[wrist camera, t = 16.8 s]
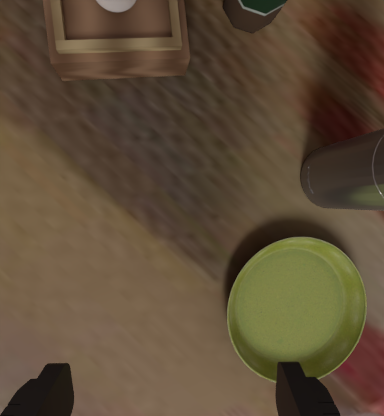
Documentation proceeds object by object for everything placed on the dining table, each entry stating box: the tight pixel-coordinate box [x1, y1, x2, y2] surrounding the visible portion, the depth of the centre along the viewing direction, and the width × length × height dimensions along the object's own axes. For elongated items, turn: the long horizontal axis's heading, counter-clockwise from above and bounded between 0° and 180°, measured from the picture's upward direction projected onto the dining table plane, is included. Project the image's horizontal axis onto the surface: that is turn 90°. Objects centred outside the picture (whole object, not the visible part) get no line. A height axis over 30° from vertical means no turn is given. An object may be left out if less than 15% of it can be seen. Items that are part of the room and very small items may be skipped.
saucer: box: [227, 237, 367, 382], centre depth 43 cm, size 21×21×3 cm
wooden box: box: [43, 0, 190, 81], centre depth 37 cm, size 16×16×6 cm
